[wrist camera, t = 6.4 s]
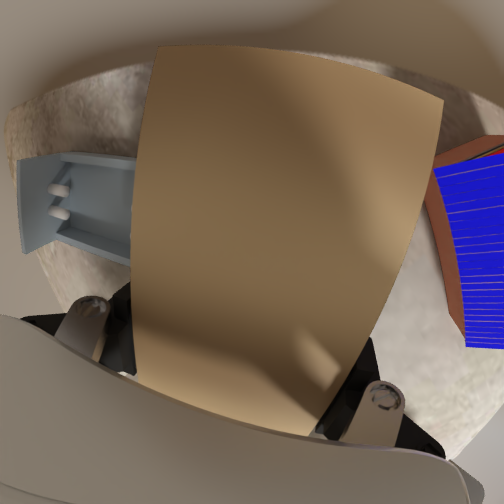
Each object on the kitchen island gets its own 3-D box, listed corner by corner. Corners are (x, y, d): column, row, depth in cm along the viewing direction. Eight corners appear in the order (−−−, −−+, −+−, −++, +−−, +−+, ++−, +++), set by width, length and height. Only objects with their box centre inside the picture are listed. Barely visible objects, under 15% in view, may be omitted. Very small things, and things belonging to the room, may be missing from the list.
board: (275, 443, 13) (265, 487, 10) (173, 411, 13) (151, 450, 11) (401, 116, 7) (443, 100, 4) (206, 75, 7) (158, 46, 4)
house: (485, 131, 20) (551, 133, 9) (512, 279, 24) (557, 323, 14) (407, 164, 24) (462, 175, 13) (446, 315, 28) (481, 376, 18)
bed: (184, 266, 33) (141, 308, 24) (70, 229, 36) (22, 252, 27) (196, 167, 29) (145, 177, 19) (71, 151, 31) (16, 160, 22)
